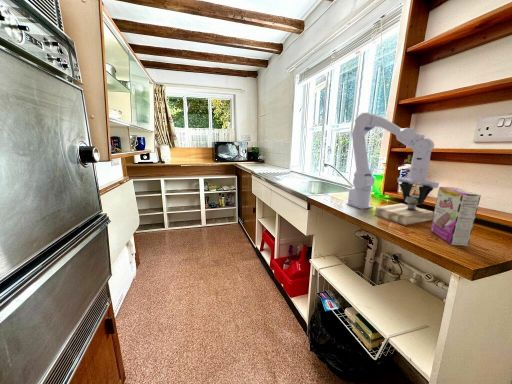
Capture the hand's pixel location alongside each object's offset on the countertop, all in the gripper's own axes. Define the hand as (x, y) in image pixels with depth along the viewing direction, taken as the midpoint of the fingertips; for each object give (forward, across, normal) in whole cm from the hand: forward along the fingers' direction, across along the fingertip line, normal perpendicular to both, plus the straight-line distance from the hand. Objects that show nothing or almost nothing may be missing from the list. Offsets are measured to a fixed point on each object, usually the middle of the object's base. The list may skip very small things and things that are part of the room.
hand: (413, 201), depth 88 cm
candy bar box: (+7, +18, -10) cm, 22 cm away
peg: (+3, 0, 0) cm, 4 cm away
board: (+7, -2, -2) cm, 8 cm away
